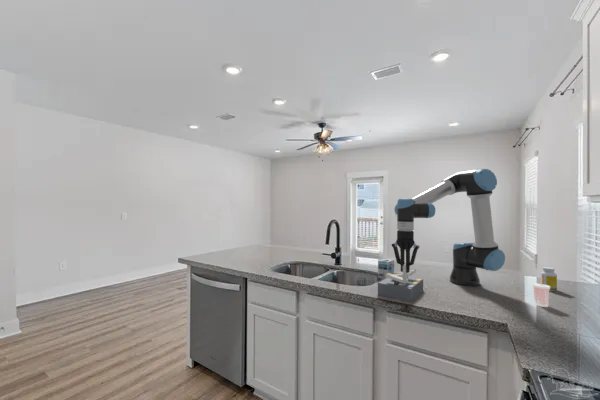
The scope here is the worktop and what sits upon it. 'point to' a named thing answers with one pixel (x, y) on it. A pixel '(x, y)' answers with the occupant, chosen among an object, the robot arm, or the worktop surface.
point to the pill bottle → (549, 278)
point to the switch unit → (401, 288)
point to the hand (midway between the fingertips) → (405, 279)
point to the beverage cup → (541, 294)
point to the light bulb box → (385, 267)
